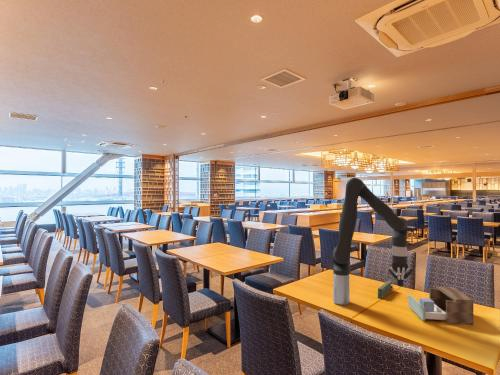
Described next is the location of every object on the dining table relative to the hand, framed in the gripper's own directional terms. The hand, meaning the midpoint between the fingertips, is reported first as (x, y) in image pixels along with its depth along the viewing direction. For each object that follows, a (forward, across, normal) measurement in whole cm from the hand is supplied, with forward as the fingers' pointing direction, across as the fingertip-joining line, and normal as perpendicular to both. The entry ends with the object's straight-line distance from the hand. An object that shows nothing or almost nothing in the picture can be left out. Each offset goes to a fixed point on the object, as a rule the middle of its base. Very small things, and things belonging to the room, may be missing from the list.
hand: (400, 285), depth 158 cm
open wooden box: (+15, -25, 0) cm, 29 cm away
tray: (+14, -13, 0) cm, 19 cm away
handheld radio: (+16, -2, -31) cm, 35 cm away
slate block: (+13, -14, 0) cm, 19 cm away
